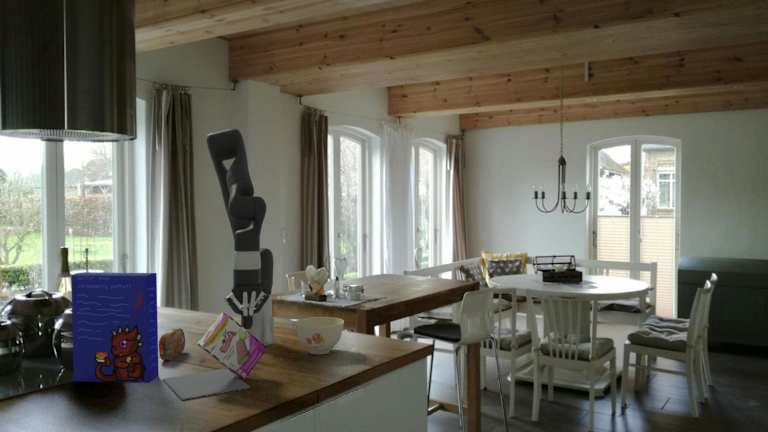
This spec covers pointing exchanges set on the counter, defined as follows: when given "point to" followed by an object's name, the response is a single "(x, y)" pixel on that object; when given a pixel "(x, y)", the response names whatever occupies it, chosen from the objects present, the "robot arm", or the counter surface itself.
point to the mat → (205, 383)
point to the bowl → (319, 333)
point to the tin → (171, 344)
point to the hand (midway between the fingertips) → (246, 328)
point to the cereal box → (115, 327)
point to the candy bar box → (232, 346)
